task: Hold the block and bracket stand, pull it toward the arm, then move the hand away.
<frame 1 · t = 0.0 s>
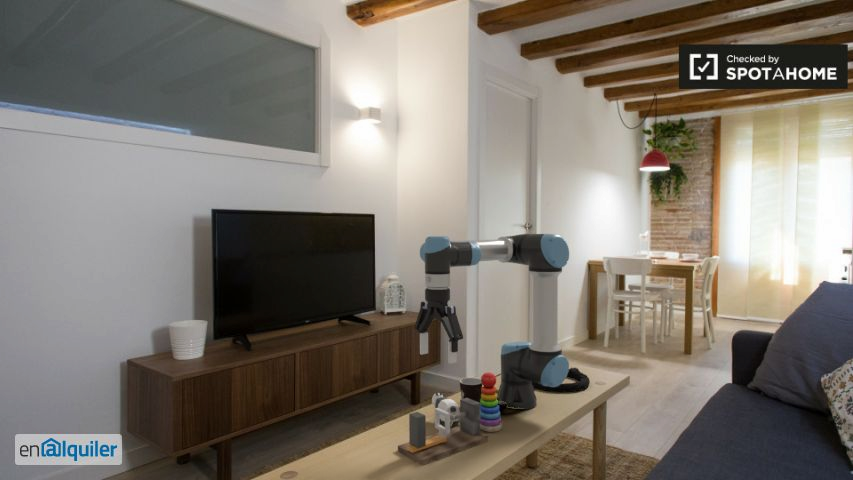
hand: (437, 358, 153), 28 cm above the table, tool pointing down, fingers open, 13 cm apart
stacking toy: (490, 428, 170), on the table
coffee mug: (471, 409, 188), on the table
cable lock: (557, 383, 221), on the table
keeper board: (443, 445, 157), on the table
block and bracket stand: (426, 428, 153), point 7 cm above the table, slide at 0.0 cm
giant panda: (444, 423, 175), on the table
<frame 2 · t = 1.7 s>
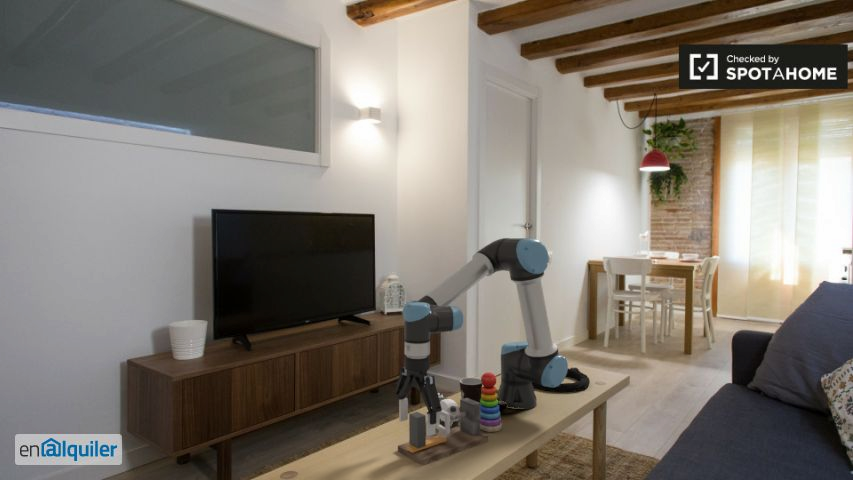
hand: (416, 427, 150), 8 cm above the table, tool pointing down, fingers open, 13 cm apart
nothing on the table moved.
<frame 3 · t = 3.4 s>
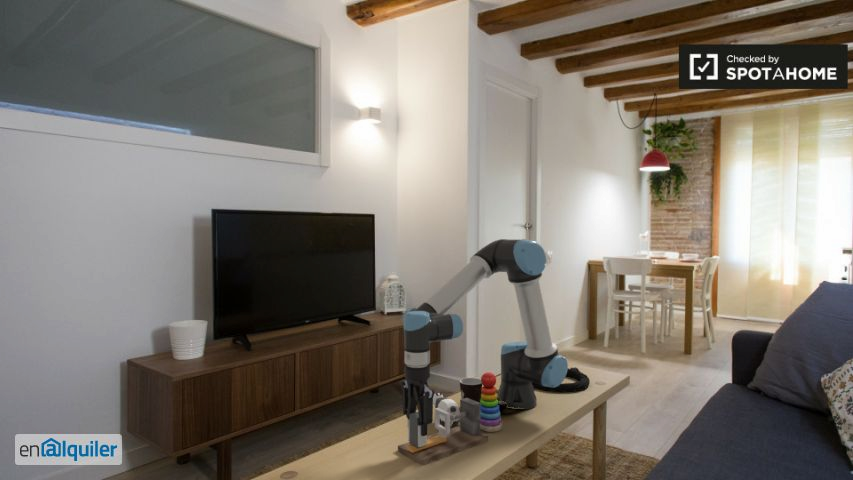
hand: (417, 442, 151), 4 cm above the table, tool pointing down, fingers closed on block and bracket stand, 4 cm apart
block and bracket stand: (426, 428, 153), point 7 cm above the table, slide at 0.0 cm, touching gripper
everything else where it was.
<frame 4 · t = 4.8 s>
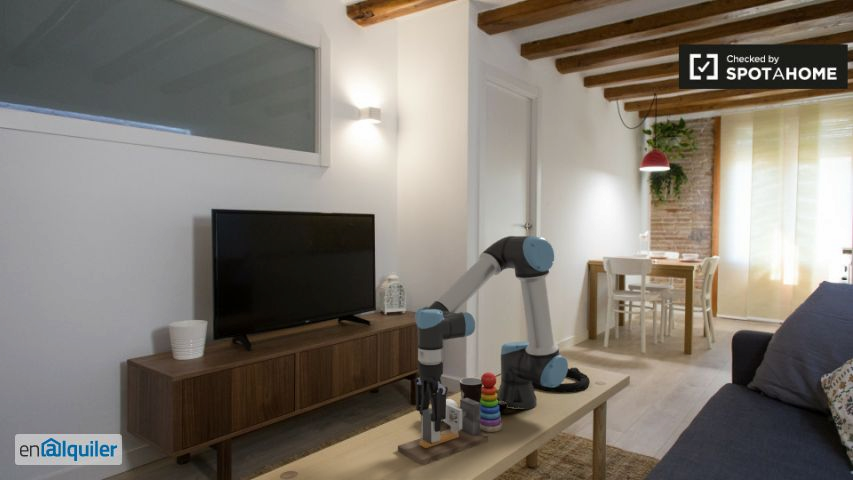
hand: (430, 438, 154), 4 cm above the table, tool pointing down, fingers closed on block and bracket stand, 4 cm apart
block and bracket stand: (439, 424, 156), point 7 cm above the table, slide at 4.9 cm, touching gripper
everything else where it was.
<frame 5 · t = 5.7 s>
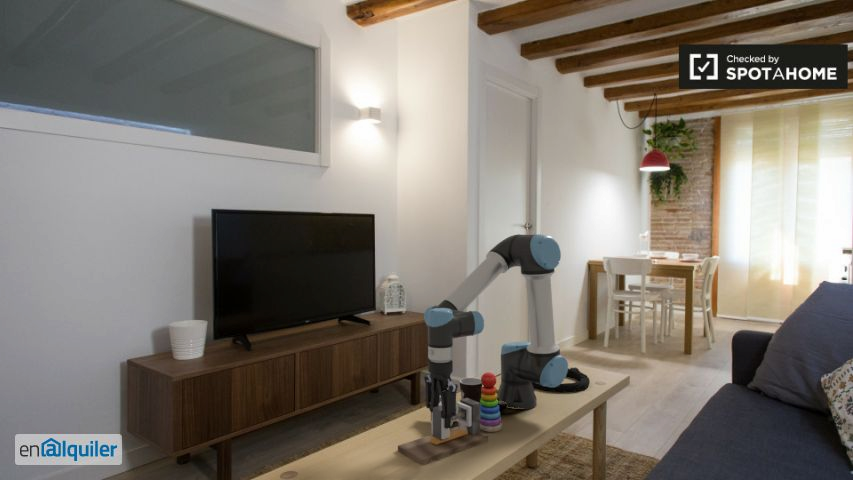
hand: (440, 435, 156), 4 cm above the table, tool pointing down, fingers closed on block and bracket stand, 4 cm apart
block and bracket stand: (449, 421, 158), point 7 cm above the table, slide at 8.8 cm, touching gripper
everything else where it was.
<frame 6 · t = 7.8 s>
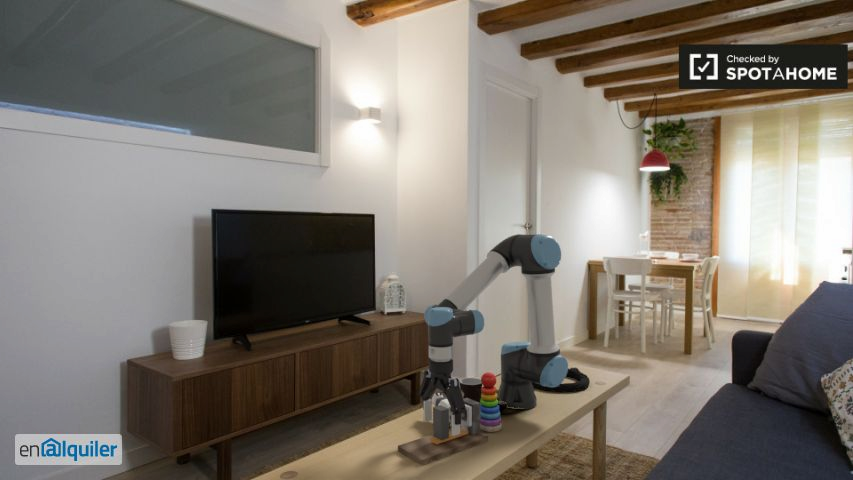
hand: (441, 427, 156), 6 cm above the table, tool pointing down, fingers open, 13 cm apart
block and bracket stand: (449, 421, 158), point 7 cm above the table, slide at 9.0 cm
everything else where it was.
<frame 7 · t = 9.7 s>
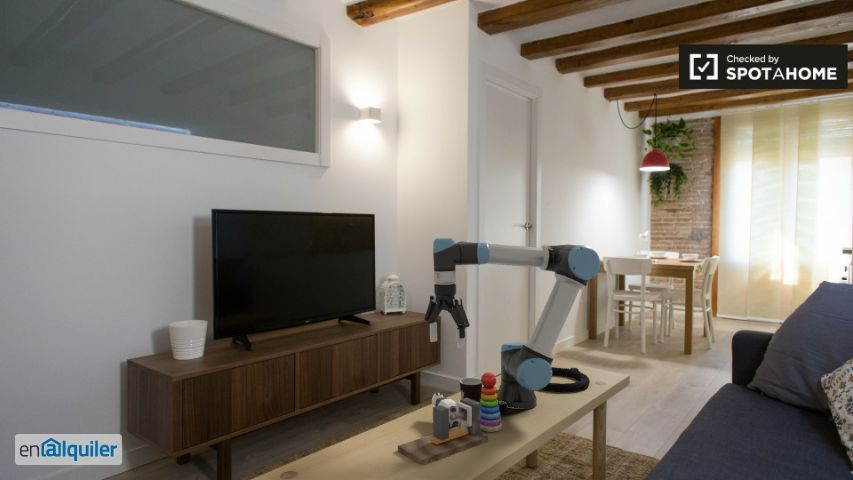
hand: (446, 344, 175), 27 cm above the table, tool pointing down, fingers open, 13 cm apart
nothing on the table moved.
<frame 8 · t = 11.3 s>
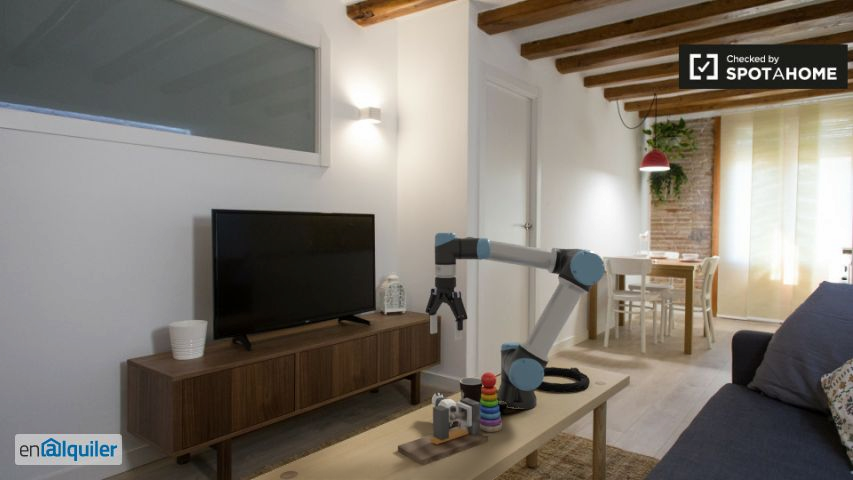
hand: (445, 336, 180), 29 cm above the table, tool pointing down, fingers open, 13 cm apart
nothing on the table moved.
at the end: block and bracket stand slide at 9.0 cm; the gripper is holding nothing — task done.
